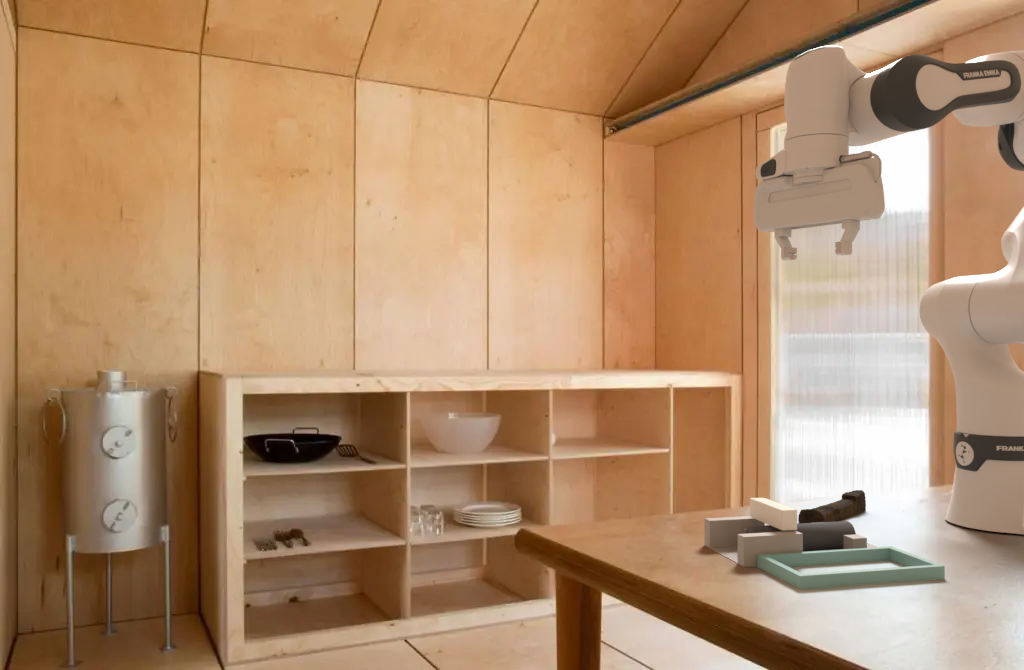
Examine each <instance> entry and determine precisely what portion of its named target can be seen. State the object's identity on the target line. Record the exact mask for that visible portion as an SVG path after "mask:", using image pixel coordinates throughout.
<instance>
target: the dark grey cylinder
mask: <svg viewBox="0 0 1024 670" xmlns="http://www.w3.org/2000/svg"><path fill="white" fill-rule="evenodd" d="M784 531H798V532H800V533H802V534H803V551H810V550H827V549H843V548H844V535H854V534H856V533H857V532H856V530H855V527H854V525H853V524H852V523H851V522H850V521H849V520H841V521H838V522H820V523H801V524H799V523H797V530H784ZM784 531H783V530H780V529H778V528H775V527H773V526H771V525H768V524H765V526H749V527H748V528H747V529H746V533H745V534H748V533H766V532H784Z"/></svg>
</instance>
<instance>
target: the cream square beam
mask: <svg viewBox="0 0 1024 670" xmlns="http://www.w3.org/2000/svg"><path fill="white" fill-rule="evenodd" d="M749 516H750V517H752V518H754V519H756V520H759V521H761V522H764V523H765V525H771V526H773V527H775V528H778V529H780V530H783V531H784V530H797V524H798V509H795V508H793V507H790V506H787V505H785V504H782V503H779V502H776V501H775V500H774V501H773V500H772V499H769V498H765V497H750V498H749Z"/></svg>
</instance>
